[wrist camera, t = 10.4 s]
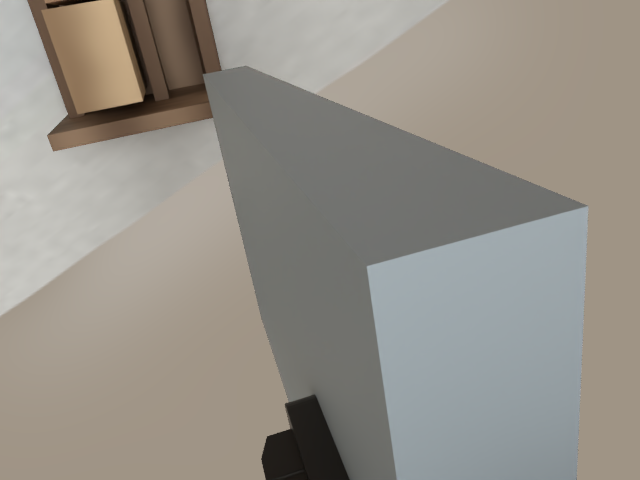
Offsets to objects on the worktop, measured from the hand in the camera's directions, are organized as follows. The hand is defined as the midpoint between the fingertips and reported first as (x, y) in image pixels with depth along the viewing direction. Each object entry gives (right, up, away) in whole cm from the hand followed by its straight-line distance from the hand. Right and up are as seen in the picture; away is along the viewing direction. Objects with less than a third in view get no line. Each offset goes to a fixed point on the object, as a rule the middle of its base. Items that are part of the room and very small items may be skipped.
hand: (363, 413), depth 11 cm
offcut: (-17, +18, +29) cm, 39 cm away
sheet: (-4, +6, +15) cm, 17 cm away
